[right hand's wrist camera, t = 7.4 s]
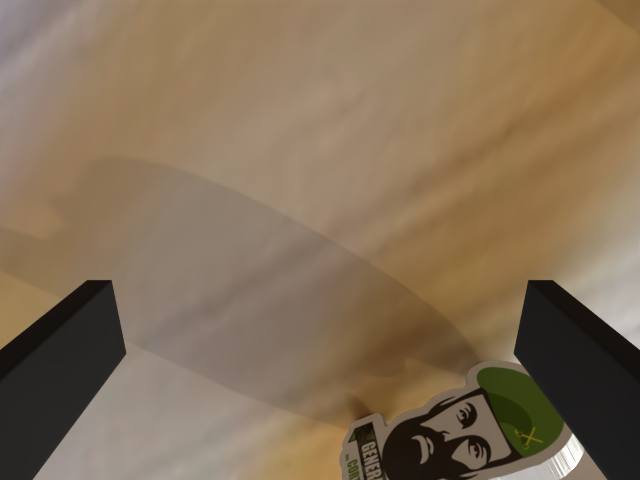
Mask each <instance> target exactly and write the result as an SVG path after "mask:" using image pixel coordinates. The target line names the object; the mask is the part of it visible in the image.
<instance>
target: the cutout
mask: <svg viewBox="0 0 640 480" xmlns="http://www.w3.org/2000/svg"><path fill="white" fill-rule="evenodd" d="M342 448H343V450H342V452H341V454H340V458H339V464H340V467H341V471H342V480H559V479H561V478H562V477H564V476H566V475H567V474H568V473H569V472H570V471H571V470H572V469H573V468H574V467H575V466H576V465H577V463H578V462H579V460H580V458H581V457H582V454H583V451H584V448H583V446H582V445H581V444H580V442H579V441H578V439H577V438H576V437H575V435H574V434H573V433H572V431H571V430H570V429H569V427H568V426H567V425H566V423H565V422H564V421H563V419H562V418H561V417H560V415H559V414H558V413H557V411H556V410H555V409H554V407H553V406H552V405H551V403H550V402H549V401H548V399H547V398H546V396H545V395H544V394H543V392H542V391H541V390H540V388H539V387H538V386H537V384H536V383H535V382H534V380H533V379H532V378H531V376H530V375H529V374H528V372H527V371H526V370H525V368H524V367H523V366H522V365H520V364H517V363H512V362H507V361H499V360H498V361H485V362H481V363H479V364H477V365H475V366H473V367H472V368H471V369H470V370H469V371H468V373H467V375H466V386H464V387H462V388H458V389H450V390H448V391H445V392H442V393H440V394H439V395H436V396H435V397H433V398H432V399H430V400H429V401H428V402H427V403H426V404H425V405H424V406H423V407H420V408H417V409H414V410H410V411H407V412H404V413H402V414H401V415H399V416H397V417H396V418H394V419H393V420H392V421H391V422H390V423H389V424H388V423H387V422H386V420H385V419H384V417H383V416H382V415H381V414H379V413H374V414H372V415H369V416H367V417H364V418H362V419H359V420H357V421H355V422H354V423H352V425H351V426H350V428H349V431H348V433H347V435H346V436H345V439H344V440H343V443H342Z"/></svg>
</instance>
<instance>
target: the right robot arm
mask: <svg viewBox="0 0 640 480" xmlns="http://www.w3.org/2000/svg"><path fill="white" fill-rule="evenodd" d="M125 355H126V349H125V344H124V339H123V334H122V329H121V324H120V320H119V315H118V310H117V305H116V300H115V295H114V290H113V285H112V280H87V281H86V282H84V283H83V284H82V285H81V286H79V287H78V288H77V289H76V290H74V291H73V292H72V293H71V294H69V295H68V296H67V297H66V298H64V299H63V300H62V301H61V302H59V303H58V304H57V305H56V306H54V307H53V308H52V309H51V310H49V311H48V312H47V313H46V314H44V315H43V316H42V317H41V318H39V319H38V320H37V321H36V322H35V323H33V324H32V325H31V326H30V327H28V328H27V329H26V330H25V331H23V332H22V333H21V334H20V335H18V336H17V337H16V338H15V339H13V340H12V341H11V342H10V343H8V344H7V345H6V346H5V347H3V348H2V349H1V350H0V480H33V478H34V477H35V476H36V474H37V473H38V472H39V470H40V469H41V468H42V466H43V465H44V464H45V462H46V461H47V460H48V458H49V457H50V456H51V454H52V453H53V452H54V450H55V449H56V448H57V446H58V445H59V444H60V442H61V441H62V439H63V438H64V437H65V435H66V434H67V433H68V431H69V430H70V429H71V427H72V426H73V425H74V423H75V422H76V421H77V419H78V418H79V417H80V415H81V414H82V413H83V411H84V410H85V409H86V407H87V406H88V405H89V403H90V402H91V401H92V399H93V398H94V396H95V395H96V394H97V392H98V391H99V390H100V388H101V387H102V386H103V384H104V383H105V382H106V380H107V379H108V378H109V376H110V375H111V374H112V372H113V371H114V370H115V368H116V367H117V366H118V364H119V363H120V362H121V360H122V359H123V358H124V356H125ZM514 355H515V356H516V358H517V359H518V360H519V362H520V363H521V364H522V366H523V367H524V368H525V370H526V371H527V372H528V374H529V375H530V376H531V378H532V379H533V380H534V382H535V383H536V384H537V386H538V387H539V388H540V390H541V391H542V392H543V394H544V395H545V396H546V398H547V399H548V401H549V402H550V403H551V405H552V406H553V407H554V409H555V410H556V411H557V413H558V414H559V415H560V417H561V418H562V419H563V421H564V422H565V423H566V425H567V426H568V427H569V429H570V430H571V431H572V433H573V434H574V435H575V437H576V438H577V439H578V441H579V442H580V444H581V445H582V446H583V448H584V449H585V450H586V452H587V453H588V454H589V456H590V457H591V458H592V460H593V461H594V462H595V464H596V465H597V466H598V468H599V469H600V470H601V472H602V473H603V474H604V476H605V477H606V478H607V480H640V350H639V349H638V348H637V347H635V346H634V345H633V344H632V343H630V342H629V341H628V340H627V339H625V338H624V337H623V336H622V335H620V334H619V333H618V332H617V331H615V330H614V329H613V328H612V327H610V326H609V325H608V324H607V323H605V322H604V321H603V320H602V319H601V318H599V317H598V316H597V315H596V314H594V313H593V312H592V311H591V310H589V309H588V308H587V307H586V306H584V305H583V304H582V303H581V302H579V301H578V300H577V299H576V298H574V297H573V296H572V295H571V294H569V293H568V292H567V291H566V290H564V289H563V288H562V287H561V286H559V285H558V284H557V283H556V282H554V281H553V280H528V285H527V290H526V295H525V300H524V305H523V310H522V315H521V320H520V324H519V329H518V334H517V339H516V344H515V349H514Z"/></svg>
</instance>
